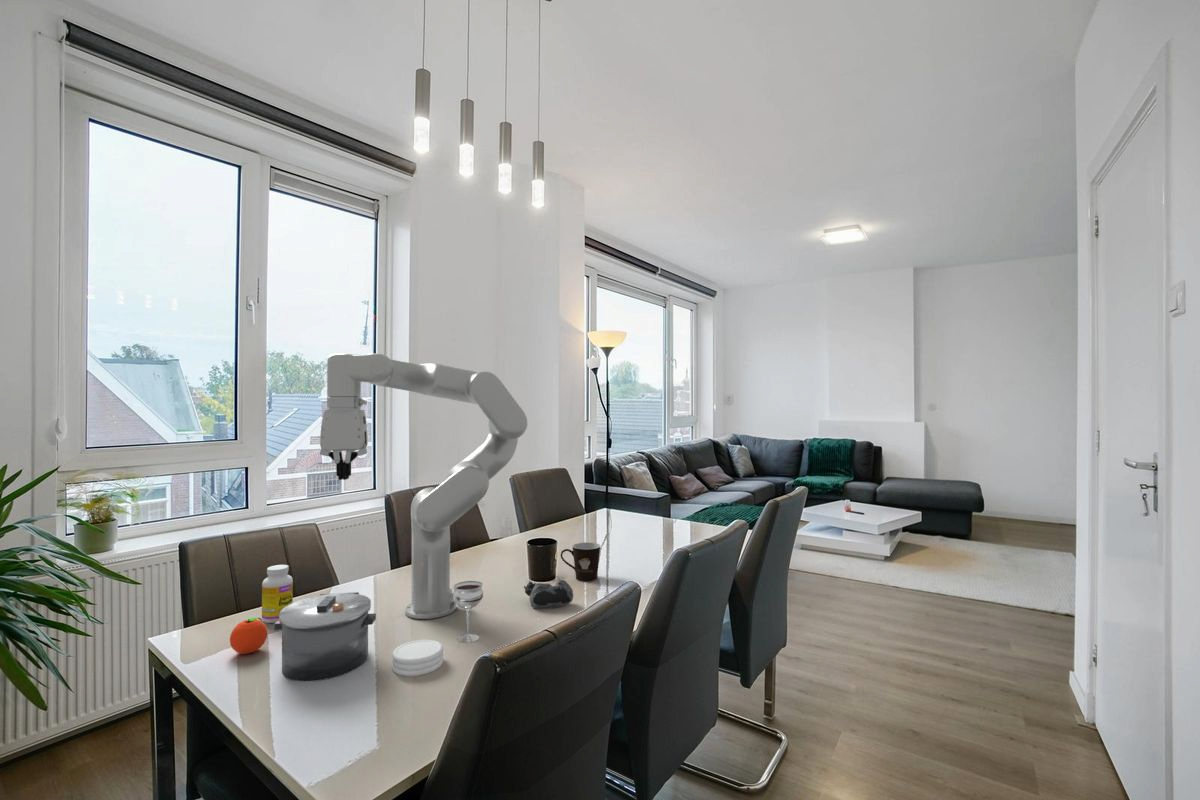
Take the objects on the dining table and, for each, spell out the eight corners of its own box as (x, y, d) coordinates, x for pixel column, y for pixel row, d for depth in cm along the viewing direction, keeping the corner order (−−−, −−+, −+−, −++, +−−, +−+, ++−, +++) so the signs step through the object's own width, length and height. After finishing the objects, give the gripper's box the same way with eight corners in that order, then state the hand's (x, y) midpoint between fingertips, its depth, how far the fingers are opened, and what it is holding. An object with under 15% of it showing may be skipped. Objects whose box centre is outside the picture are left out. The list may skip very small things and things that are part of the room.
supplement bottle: (278, 625, 136) (279, 571, 137) (255, 623, 138) (255, 570, 138) (298, 615, 143) (298, 564, 143) (276, 613, 144) (276, 562, 144)
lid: (299, 599, 124) (299, 588, 124) (379, 595, 127) (379, 585, 127) (264, 631, 107) (264, 618, 107) (358, 626, 110) (358, 613, 110)
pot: (382, 643, 126) (382, 598, 126) (363, 677, 110) (363, 625, 110) (292, 648, 123) (293, 602, 123) (259, 684, 107) (260, 631, 107)
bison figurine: (574, 608, 148) (566, 594, 158) (574, 582, 148) (566, 569, 157) (529, 614, 145) (523, 599, 154) (529, 586, 144) (523, 573, 154)
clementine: (246, 643, 126) (247, 611, 126) (277, 643, 126) (277, 611, 126) (221, 659, 118) (221, 625, 118) (254, 659, 118) (254, 625, 118)
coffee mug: (605, 577, 174) (605, 544, 174) (590, 584, 167) (590, 550, 167) (574, 571, 180) (574, 539, 181) (558, 578, 173) (558, 545, 173)
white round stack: (425, 651, 122) (425, 634, 122) (453, 664, 116) (453, 647, 116) (382, 667, 115) (382, 650, 115) (409, 682, 108) (409, 664, 108)
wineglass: (450, 635, 130) (450, 582, 130) (480, 630, 133) (480, 579, 133) (455, 646, 124) (455, 591, 124) (486, 641, 127) (486, 587, 127)
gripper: (379, 404, 143) (379, 476, 143) (317, 404, 141) (316, 477, 141) (372, 404, 136) (371, 480, 136) (305, 404, 134) (305, 481, 133)
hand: (343, 478), depth 138 cm, fingers closed
